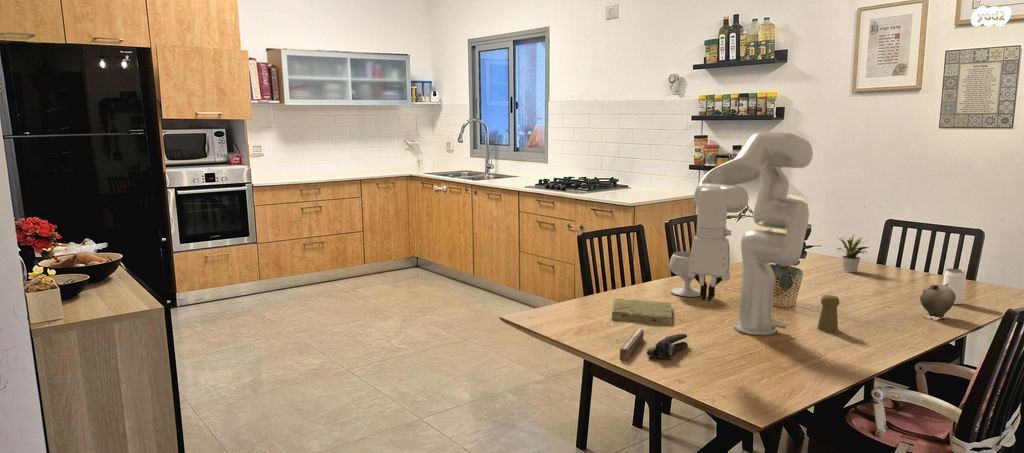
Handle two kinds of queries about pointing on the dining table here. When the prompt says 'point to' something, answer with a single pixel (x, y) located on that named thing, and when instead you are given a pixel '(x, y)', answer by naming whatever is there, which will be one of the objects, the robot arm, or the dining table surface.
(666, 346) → the can opener
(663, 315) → the decorative tile
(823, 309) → the cork
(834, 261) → the dining table surface
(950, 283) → the can
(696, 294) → the chalice
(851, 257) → the house plant
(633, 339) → the walnut rail
